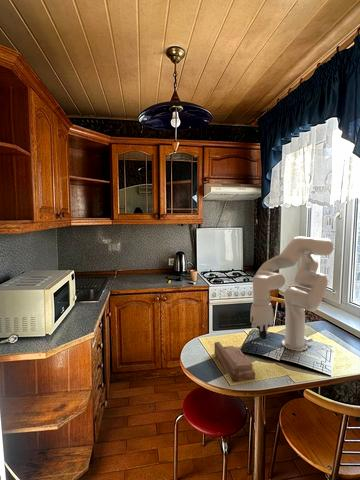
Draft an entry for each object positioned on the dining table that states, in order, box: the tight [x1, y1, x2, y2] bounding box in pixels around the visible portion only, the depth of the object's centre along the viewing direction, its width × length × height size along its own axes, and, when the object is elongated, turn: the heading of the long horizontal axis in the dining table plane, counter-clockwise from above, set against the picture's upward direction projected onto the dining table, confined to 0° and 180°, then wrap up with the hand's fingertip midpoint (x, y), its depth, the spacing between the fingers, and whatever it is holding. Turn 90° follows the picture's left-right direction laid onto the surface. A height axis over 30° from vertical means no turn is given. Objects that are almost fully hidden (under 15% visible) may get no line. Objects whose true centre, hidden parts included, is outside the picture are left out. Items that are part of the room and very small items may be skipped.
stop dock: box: [214, 341, 256, 383], centre depth 125 cm, size 10×24×6 cm, turn 12°
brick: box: [225, 346, 254, 372], centre depth 126 cm, size 17×8×5 cm, turn 14°
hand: (262, 337), depth 128 cm, fingers closed
